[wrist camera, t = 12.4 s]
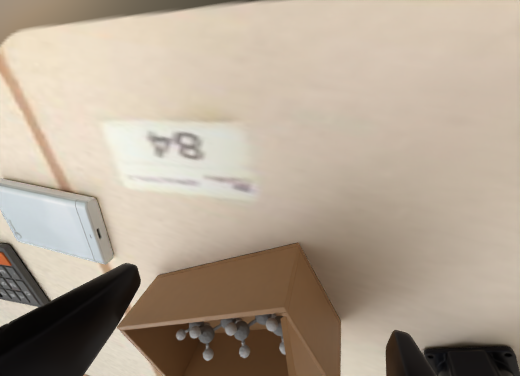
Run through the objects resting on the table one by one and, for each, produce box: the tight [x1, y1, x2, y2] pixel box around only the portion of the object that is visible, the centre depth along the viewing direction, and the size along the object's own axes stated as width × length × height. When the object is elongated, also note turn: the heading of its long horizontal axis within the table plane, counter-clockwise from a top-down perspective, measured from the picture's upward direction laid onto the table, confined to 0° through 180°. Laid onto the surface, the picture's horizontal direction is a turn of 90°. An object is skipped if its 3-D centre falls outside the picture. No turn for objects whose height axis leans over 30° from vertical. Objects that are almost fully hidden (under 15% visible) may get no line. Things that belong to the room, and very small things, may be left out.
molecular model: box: [176, 313, 285, 361], centre depth 26 cm, size 14×4×5 cm, turn 116°
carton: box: [117, 243, 341, 376], centre depth 25 cm, size 18×10×6 cm, turn 118°
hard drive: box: [0, 178, 113, 264], centre depth 29 cm, size 2×8×12 cm
